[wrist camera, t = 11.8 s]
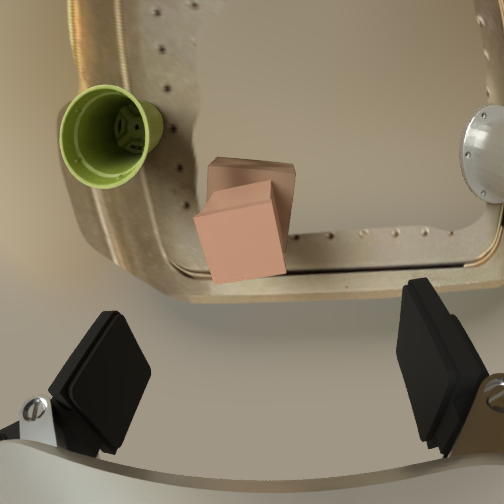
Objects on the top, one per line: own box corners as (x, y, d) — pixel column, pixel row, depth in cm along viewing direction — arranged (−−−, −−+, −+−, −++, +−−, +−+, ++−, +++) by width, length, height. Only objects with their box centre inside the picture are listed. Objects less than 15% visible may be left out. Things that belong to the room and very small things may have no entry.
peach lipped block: (272, 178, 28) (271, 202, 22) (283, 234, 31) (286, 273, 24) (211, 190, 29) (193, 217, 22) (226, 244, 32) (214, 284, 25)
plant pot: (176, 170, 33) (148, 192, 25) (102, 166, 33) (61, 187, 26) (182, 86, 29) (152, 82, 21) (104, 88, 29) (59, 90, 21)
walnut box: (292, 163, 32) (295, 173, 28) (284, 233, 36) (285, 252, 31) (217, 156, 33) (208, 165, 28) (214, 225, 36) (205, 244, 32)
